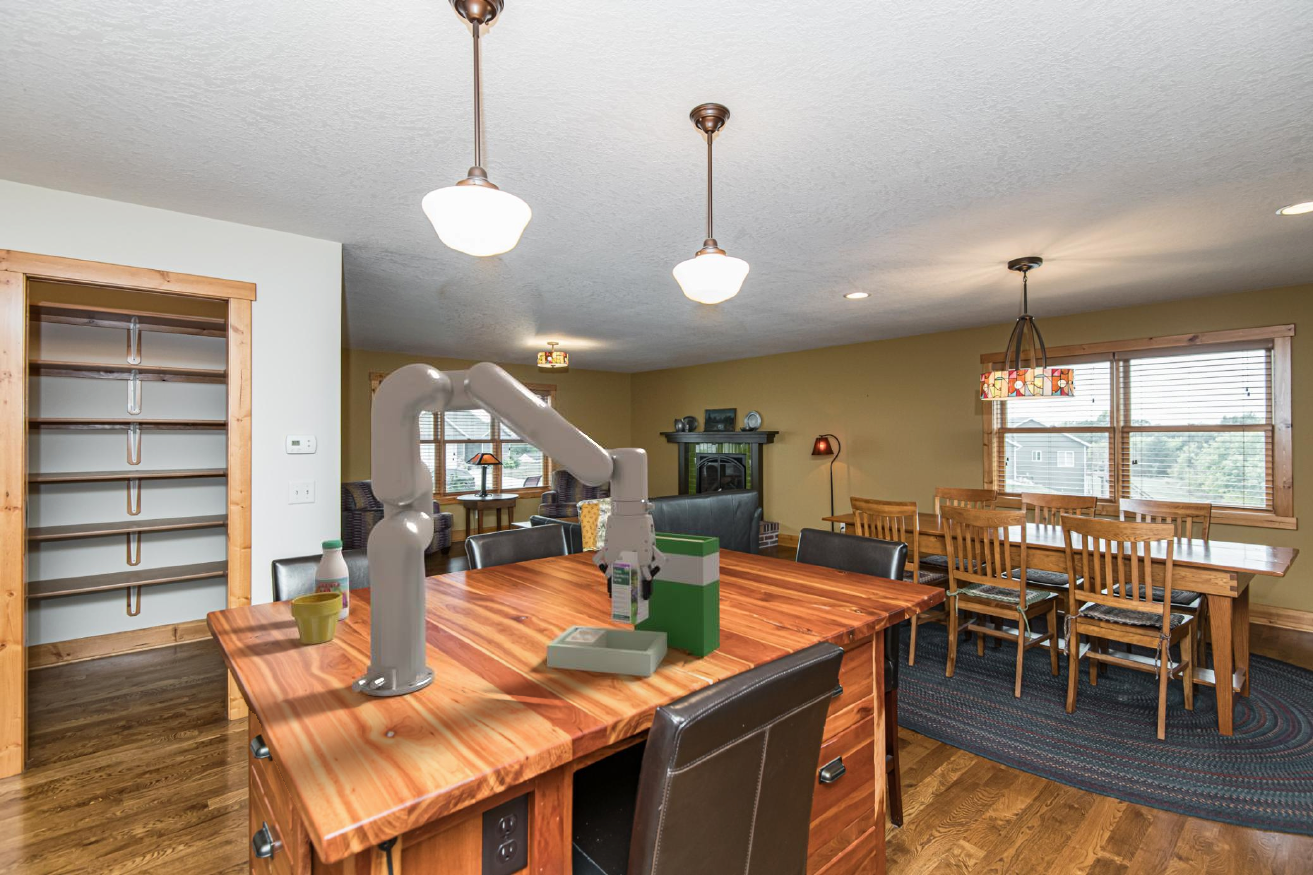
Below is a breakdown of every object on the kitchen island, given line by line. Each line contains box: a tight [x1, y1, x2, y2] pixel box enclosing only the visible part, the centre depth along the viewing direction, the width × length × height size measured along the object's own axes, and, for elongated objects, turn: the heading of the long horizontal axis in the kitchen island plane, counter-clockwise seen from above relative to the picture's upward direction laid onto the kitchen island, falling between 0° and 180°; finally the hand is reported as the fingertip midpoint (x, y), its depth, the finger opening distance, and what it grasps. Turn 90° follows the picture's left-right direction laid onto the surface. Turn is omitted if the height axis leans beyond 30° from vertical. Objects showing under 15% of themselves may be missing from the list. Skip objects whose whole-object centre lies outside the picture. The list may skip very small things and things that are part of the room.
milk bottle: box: [314, 539, 350, 621], centre depth 153 cm, size 8×8×20 cm
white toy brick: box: [564, 628, 606, 648], centre depth 122 cm, size 8×6×5 cm
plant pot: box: [290, 592, 343, 645], centre depth 136 cm, size 10×10×10 cm
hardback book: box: [633, 531, 721, 659], centre depth 132 cm, size 18×7×24 cm, turn 57°
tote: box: [546, 625, 668, 678], centre depth 121 cm, size 13×21×5 cm, turn 76°
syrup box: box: [611, 551, 648, 626], centre depth 120 cm, size 6×6×14 cm
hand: (630, 596), depth 120 cm, fingers closed on syrup box, 6 cm apart
